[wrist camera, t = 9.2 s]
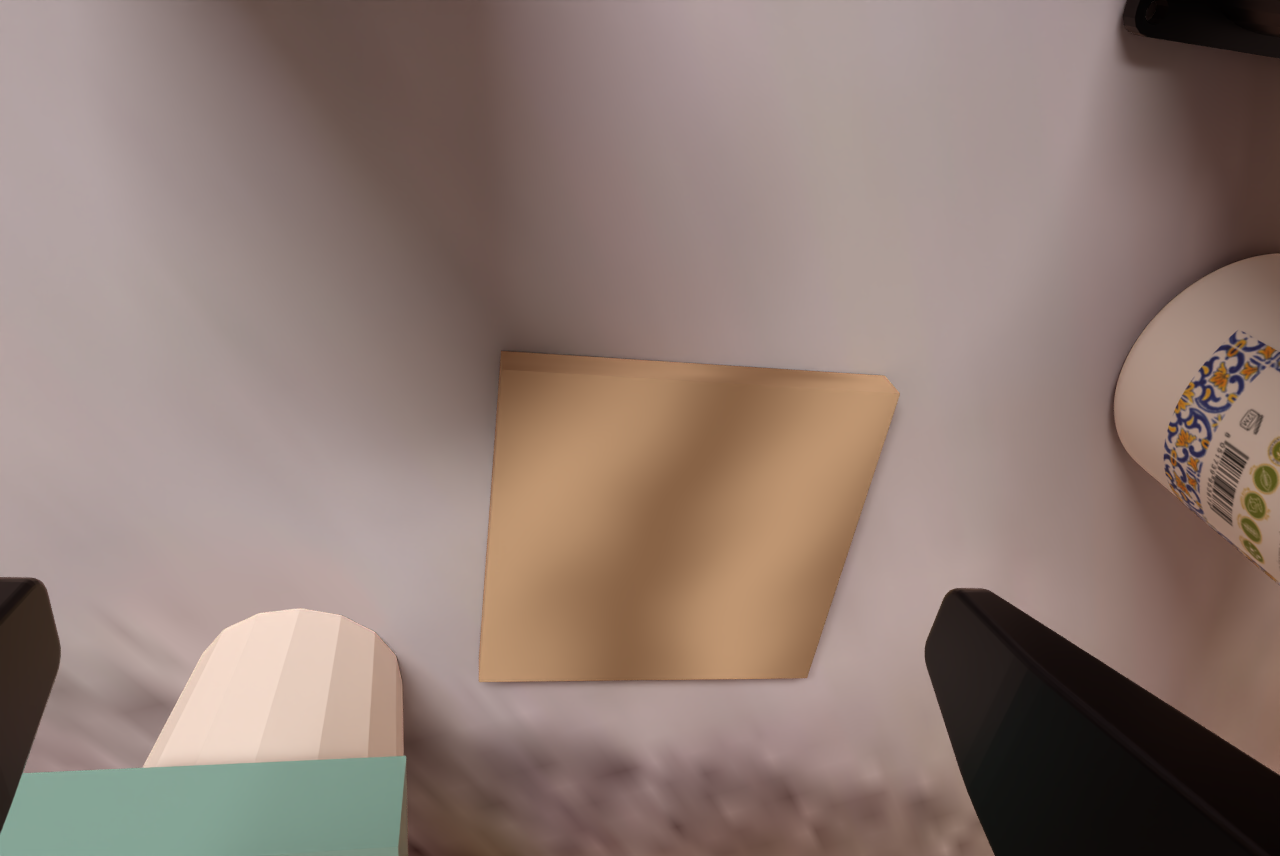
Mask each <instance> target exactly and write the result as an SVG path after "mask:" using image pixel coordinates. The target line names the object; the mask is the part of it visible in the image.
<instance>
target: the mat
mask: <svg viewBox="0 0 1280 856" xmlns="http://www.w3.org/2000/svg"><path fill="white" fill-rule="evenodd" d="M899 395H900V393H899V392H898V391H897V390H896V388H895V387H894V386H893V385H892V384H891V383H890V381H889V380H888V379H887V378H886V377H885V376H881V375H865V374H850V373H834V372H819V371H803V370H788V369H773V368H757V367H742V366H726V365H711V364H695V363H680V362H664V361H649V360H633V359H618V358H603V357H587V356H572V355H556V354H541V353H525V352H510V351H501V358H500V372H499V386H498V400H497V414H496V427H495V441H494V455H493V469H492V483H491V497H490V511H489V525H488V538H487V552H486V566H485V580H484V594H483V608H482V622H481V635H480V649H479V682H517V681H603V680H689V679H775V678H807V676H808V673H809V670H810V667H811V664H812V661H813V658H814V655H815V652H816V649H817V646H818V643H819V639H820V636H821V633H822V630H823V627H824V624H825V621H826V618H827V615H828V612H829V609H830V606H831V603H832V600H833V597H834V594H835V591H836V588H837V585H838V581H839V578H840V575H841V572H842V569H843V566H844V563H845V560H846V557H847V554H848V551H849V548H850V545H851V542H852V539H853V536H854V533H855V530H856V527H857V523H858V520H859V517H860V514H861V511H862V508H863V505H864V502H865V499H866V496H867V493H868V490H869V487H870V484H871V481H872V478H873V475H874V472H875V468H876V465H877V462H878V459H879V456H880V453H881V450H882V447H883V444H884V441H885V438H886V435H887V432H888V429H889V426H890V423H891V420H892V417H893V414H894V410H895V407H896V404H897V401H898V398H899Z"/></svg>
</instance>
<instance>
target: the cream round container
mask: <svg viewBox="0 0 1280 856" xmlns="http://www.w3.org/2000/svg"><path fill="white" fill-rule="evenodd" d="M390 756H404V745H403V687H402V679H401V674H400V670H399V666H398V662H397V657H396V655H395V654H394V653H393V652H392V651H391V649H390V648H389V647H388V646H387V645H386V644H385V643H384V642H383V640H382V639H381V638H380V637H379V636H378V635H377V634H376V633H375V632H374V631H372V630H370V629H368V628H366V627H364V626H362V625H360V624H358V623H356V622H354V621H352V620H350V619H348V618H346V617H344V616H342V615H338V614H332V613H326V612H320V611H314V610H308V609H302V608H298V609H290V610H281V611H273V612H264V613H258V614H256V615H254V616H252V617H249V618H247V619H245V620H243V621H241V622H239V623H237V624H234V625H232V626H230V627H228V628H226V629H224V630H223V631H222V632H221V633H220V634H219V636H218V637H217V638H216V639H215V640H214V641H213V642H212V643H211V645H210V646H209V647H208V648H207V649H206V650H205V651H204V652H203V654H202V655H201V657H200V659H199V661H198V663H197V665H196V667H195V669H194V671H193V673H192V674H191V676H190V678H189V680H188V682H187V684H186V686H185V688H184V690H183V692H182V693H181V695H180V697H179V699H178V701H177V703H176V705H175V707H174V709H173V711H172V713H171V714H170V716H169V718H168V720H167V722H166V724H165V726H164V728H163V730H162V732H161V733H160V735H159V737H158V739H157V741H156V743H155V745H154V747H153V749H152V751H151V752H150V754H149V756H148V758H147V760H146V762H145V764H144V766H143V768H151V767H172V766H194V765H216V764H238V763H260V762H281V761H303V760H325V759H347V758H368V757H390Z"/></svg>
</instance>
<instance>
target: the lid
mask: <svg viewBox="0 0 1280 856" xmlns="http://www.w3.org/2000/svg"><path fill="white" fill-rule="evenodd" d="M0 856H408V820H407V765H406V756H390V757H368V758H347V759H325V760H303V761H281V762H260V763H238V764H216V765H194V766H172V767H151V768H129V769H107V770H85V771H63V772H42V773H22V776H21V779H20V782H19V785H18V788H17V791H16V794H15V796H14V799H13V802H12V805H11V808H10V810H9V813H8V816H7V818H6V821H5V823H4V826H3V829H2V831H1V833H0Z"/></svg>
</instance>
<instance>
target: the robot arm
mask: <svg viewBox="0 0 1280 856" xmlns="http://www.w3.org/2000/svg"><path fill="white" fill-rule="evenodd" d="M1153 1H1154V0H1127V3H1126V5H1125V9H1124V14H1123V20H1124V25H1125V27H1126V28H1127V30H1128V31H1129V32H1131V33H1133V34H1135V35H1140V36H1145V37H1151V38H1157V39H1164V40H1170V41H1176V42H1182V43H1188V44H1195V45H1201V46H1207V47H1213V48H1219V49H1226V50H1232V51H1238V52H1244V53H1250V54H1257V55H1263V56H1269V57H1275V58H1280V0H1155V2H1156V10H1155V13H1154V14H1153V16H1152V18H1150V19H1149V20H1148V21H1147V20H1146V17H1145V16H1146V11H1147V8H1148V7H1149V5H1150V4H1151V3H1152V2H1153ZM60 657H61V647H60V641H59V637H58V633H57V629H56V624H55V620H54V616H53V612H52V608H51V604H50V600H49V596H48V592H47V589H46V587H45V585H44V584H43V583H42V582H41V581H40V580H38V579H36V578H22V577H0V833H1V831H2V829H3V826H4V823H5V821H6V818H7V816H8V813H9V810H10V808H11V805H12V802H13V799H14V796H15V794H16V791H17V788H18V785H19V782H20V779H21V776H22V773H23V771H24V768H25V765H26V762H27V759H28V756H29V753H30V750H31V748H32V745H33V742H34V739H35V736H36V733H37V730H38V727H39V725H40V722H41V719H42V716H43V713H44V710H45V707H46V704H47V702H48V699H49V696H50V693H51V690H52V687H53V684H54V682H55V679H56V676H57V673H58V669H59V665H60ZM925 662H926V666H927V669H928V673H929V676H930V679H931V682H932V685H933V688H934V691H935V694H936V697H937V701H938V704H939V707H940V710H941V713H942V716H943V719H944V722H945V726H946V729H947V732H948V735H949V738H950V741H951V744H952V747H953V750H954V754H955V757H956V760H957V763H958V766H959V769H960V772H961V775H962V778H963V780H964V783H965V786H966V789H967V792H968V794H969V796H970V799H971V801H972V804H973V806H974V809H975V811H976V814H977V816H978V818H979V821H980V823H981V825H982V827H983V830H984V832H985V834H986V837H987V839H988V841H989V844H990V846H991V848H992V850H993V853H994V855H995V856H1280V775H1279V774H1277V773H1275V772H1274V771H1272V770H1271V769H1269V768H1268V767H1266V766H1264V765H1263V764H1261V763H1260V762H1258V761H1257V760H1255V759H1253V758H1252V757H1250V756H1249V755H1247V754H1246V753H1244V752H1242V751H1241V750H1239V749H1238V748H1236V747H1235V746H1233V745H1231V744H1230V743H1228V742H1227V741H1225V740H1224V739H1222V738H1220V737H1219V736H1217V735H1216V734H1214V733H1213V732H1211V731H1209V730H1208V729H1206V728H1205V727H1203V726H1202V725H1200V724H1198V723H1197V722H1195V721H1194V720H1192V719H1191V718H1189V717H1187V716H1186V715H1184V714H1183V713H1181V712H1180V711H1178V710H1176V709H1175V708H1173V707H1172V706H1170V705H1169V704H1167V703H1165V702H1164V701H1162V700H1161V699H1159V698H1158V697H1156V696H1154V695H1153V694H1151V693H1150V692H1148V691H1147V690H1145V689H1143V688H1142V687H1140V686H1139V685H1137V684H1136V683H1134V682H1133V681H1131V680H1129V679H1128V678H1126V677H1125V676H1123V675H1122V674H1120V673H1118V672H1117V671H1115V670H1114V669H1112V668H1111V667H1109V666H1107V665H1106V664H1104V663H1103V662H1101V661H1100V660H1098V659H1096V658H1095V657H1093V656H1092V655H1090V654H1089V653H1087V652H1085V651H1084V650H1082V649H1081V648H1079V647H1078V646H1076V645H1074V644H1073V643H1071V642H1070V641H1068V640H1067V639H1065V638H1064V637H1062V636H1060V635H1059V634H1057V633H1056V632H1054V631H1053V630H1051V629H1049V628H1048V627H1046V626H1045V625H1043V624H1042V623H1040V622H1038V621H1037V620H1035V619H1034V618H1032V617H1031V616H1029V615H1027V614H1026V613H1024V612H1023V611H1021V610H1020V609H1018V608H1016V607H1015V606H1013V605H1012V604H1010V603H1009V602H1007V601H1005V600H1004V599H1002V598H1001V597H999V596H998V595H996V594H994V593H993V592H991V591H989V590H986V589H981V588H956V589H952V590H950V591H949V592H948V593H947V594H946V595H945V597H944V599H943V601H942V604H941V606H940V609H939V611H938V614H937V616H936V618H935V621H934V623H933V626H932V628H931V631H930V633H929V636H928V638H927V641H926V645H925Z"/></svg>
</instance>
